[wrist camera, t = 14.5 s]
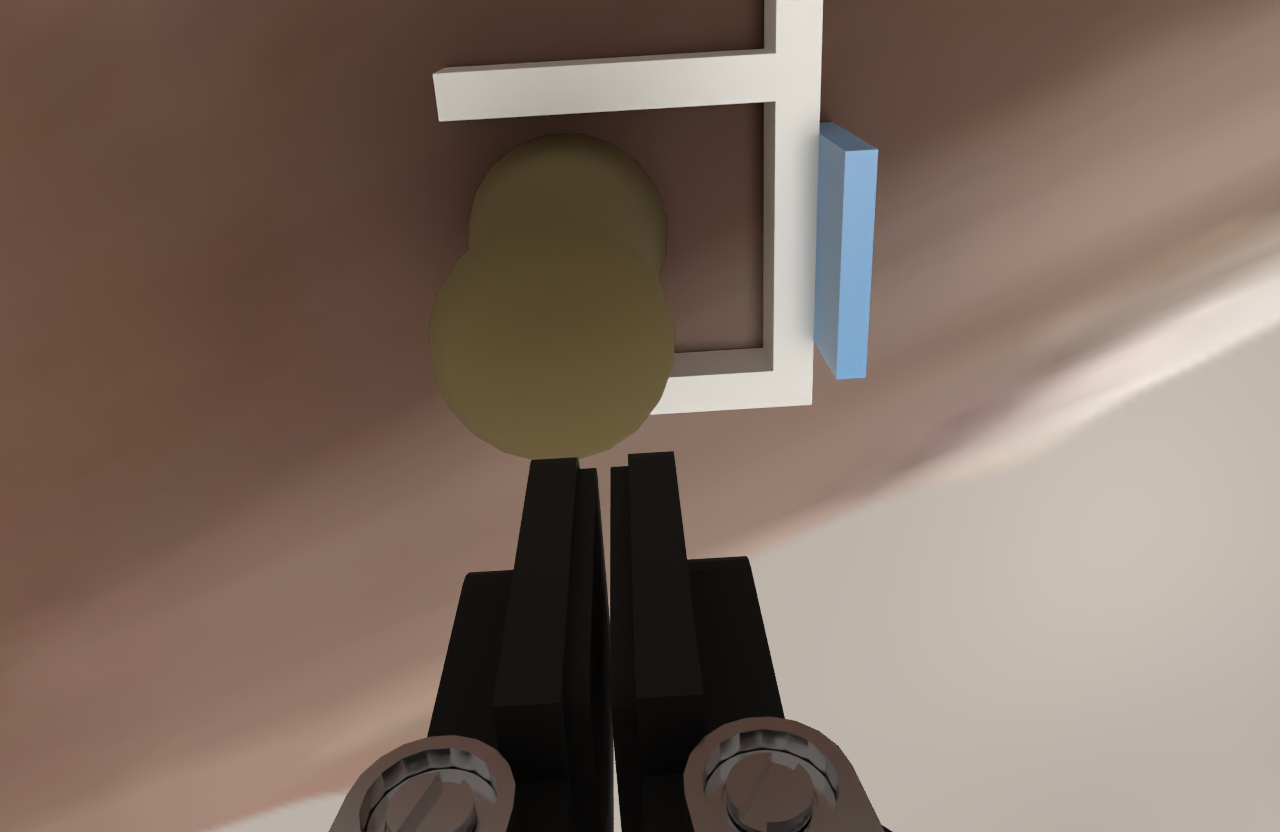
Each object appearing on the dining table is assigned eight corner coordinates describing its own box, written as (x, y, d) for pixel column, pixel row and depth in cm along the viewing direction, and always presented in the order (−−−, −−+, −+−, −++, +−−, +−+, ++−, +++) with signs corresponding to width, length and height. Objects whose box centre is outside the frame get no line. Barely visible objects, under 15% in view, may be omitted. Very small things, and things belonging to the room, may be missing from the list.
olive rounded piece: (462, 316, 29) (387, 489, 19) (475, 118, 27) (398, 198, 17) (652, 340, 30) (675, 520, 20) (682, 148, 27) (727, 243, 17)
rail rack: (390, -333, 22) (335, -414, 18) (848, -358, 22) (910, -446, 18) (488, 399, 30) (468, 471, 26) (823, 377, 30) (862, 446, 26)
